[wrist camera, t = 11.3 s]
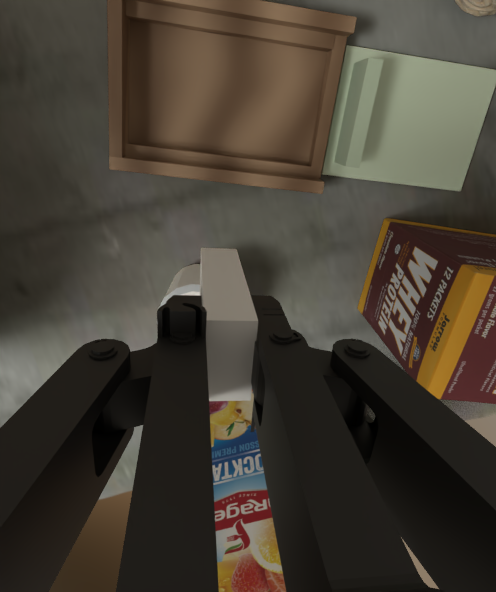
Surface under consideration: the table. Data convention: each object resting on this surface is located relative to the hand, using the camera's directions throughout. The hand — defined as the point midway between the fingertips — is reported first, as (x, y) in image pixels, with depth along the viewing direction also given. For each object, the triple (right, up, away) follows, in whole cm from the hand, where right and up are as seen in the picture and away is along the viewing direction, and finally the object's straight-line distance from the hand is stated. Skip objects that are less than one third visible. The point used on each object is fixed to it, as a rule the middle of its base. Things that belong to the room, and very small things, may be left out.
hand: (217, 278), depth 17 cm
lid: (+16, +15, +20) cm, 29 cm away
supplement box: (+21, +2, +26) cm, 34 cm away
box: (-1, +16, +17) cm, 24 cm away
